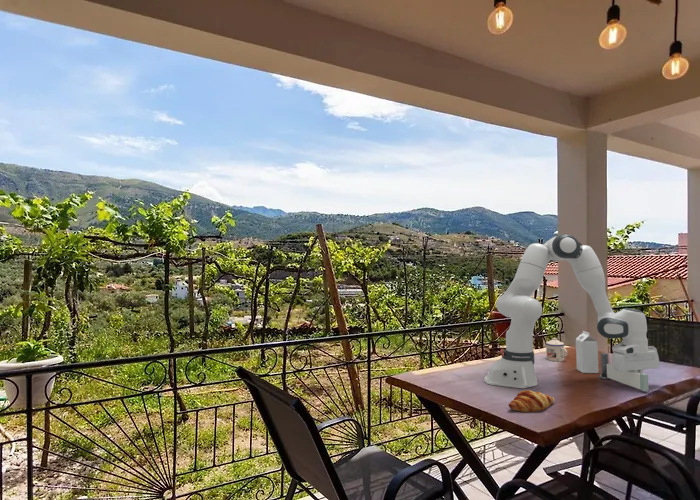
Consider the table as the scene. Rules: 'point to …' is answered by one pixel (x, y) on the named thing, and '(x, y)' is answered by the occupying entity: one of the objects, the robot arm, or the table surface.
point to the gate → (628, 378)
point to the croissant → (531, 401)
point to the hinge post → (604, 366)
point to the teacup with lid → (555, 350)
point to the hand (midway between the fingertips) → (636, 380)
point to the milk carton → (587, 353)
